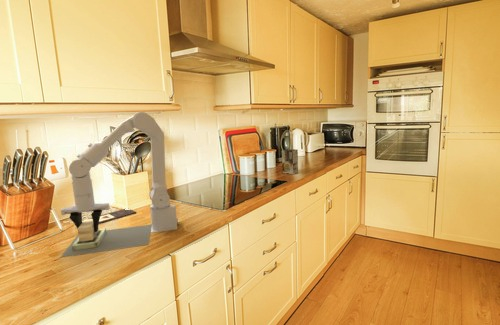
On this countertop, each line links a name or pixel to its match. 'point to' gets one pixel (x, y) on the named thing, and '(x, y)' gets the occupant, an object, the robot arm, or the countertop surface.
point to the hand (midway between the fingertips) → (89, 231)
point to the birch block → (86, 230)
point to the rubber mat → (115, 240)
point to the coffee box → (290, 161)
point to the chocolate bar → (115, 215)
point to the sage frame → (91, 244)
